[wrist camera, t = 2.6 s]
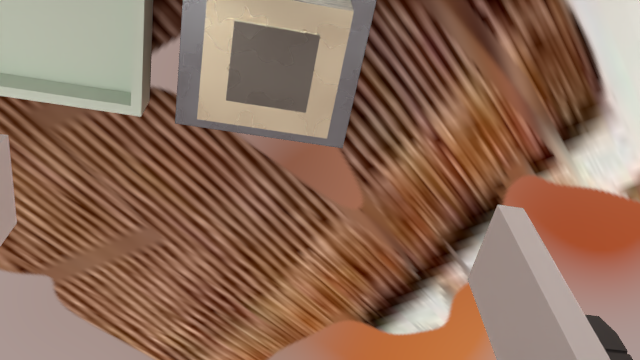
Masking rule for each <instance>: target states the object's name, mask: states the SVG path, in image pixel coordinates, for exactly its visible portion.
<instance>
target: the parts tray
mask: <svg viewBox="0 0 640 360" xmlns="http://www.w3.org/2000/svg"><path fill="white" fill-rule="evenodd" d="M152 23H153V0H0V96H5V97H12V98H19V99H26V100H32V101H39V102H46V103H52V104H59V105H66V106H73V107H79V108H86V109H93V110H100V111H106V112H113V113H120V114H126V115H133V116H140V117H141V116H142V114H143V112H144V110H145V108H146V107H147V105H148V103H149V101H150V77H151V76H150V75H151V50H152Z"/></svg>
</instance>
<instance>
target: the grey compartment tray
mask: <svg viewBox="0 0 640 360" xmlns="http://www.w3.org/2000/svg"><path fill="white" fill-rule="evenodd" d="M351 3H352V6H353V10H354V13H353V18H352V23H351V28H350V32H349V37H348V42H347V46H346V51H345V56H344V61H343V65H342V70H341V75H340V79H339V84H338V89H337V94H336V98H335V103H334V108H333V112H332V117H331V122H330V126H329V131H328V136H327V139H326V138H319V137H312V136H306V135H299V134H292V133H286V132H279V131H272V130H266V129H259V128H252V127H246V126H239V125H232V124H226V123H219V122H212V121H206V120H199V119H197V113H198V101H199V89H200V77H201V65H202V52H203V40H204V28H205V16H206V4H207V0H183V6H182V22H181V38H180V54H179V70H178V71H179V72H178V86H177V102H176V118H175V123H176V124H183V125H190V126H197V127H203V128H210V129H217V130H223V131H230V132H237V133H244V134H250V135H258V136H264V137H271V138H277V139H284V140H291V141H298V142H304V143H312V144H319V145H325V146H331V147H338V148H343V144H344V139H345V135H346V131H347V126H348V122H349V118H350V113H351V109H352V105H353V100H354V96H355V92H356V87H357V83H358V79H359V74H360V70H361V65H362V61H363V57H364V52H365V48H366V44H367V39H368V35H369V31H370V26H371V22H372V18H373V13H374V9H375V4H376V0H351Z"/></svg>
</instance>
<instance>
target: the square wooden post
mask: <svg viewBox="0 0 640 360" xmlns="http://www.w3.org/2000/svg"><path fill="white" fill-rule="evenodd" d="M353 13H354V10H353V6H352V3H351V0H207V4H206V16H205V28H204V40H203V52H202V65H201V77H200V89H199V101H198V113H197V119H199V120H206V121H212V122H219V123H226V124H232V125H239V126H246V127H252V128H259V129H266V130H272V131H279V132H286V133H292V134H299V135H306V136H312V137H319V138H326V139H327V136H328V131H329V126H330V122H331V117H332V112H333V108H334V103H335V98H336V94H337V89H338V84H339V79H340V75H341V70H342V65H343V61H344V56H345V51H346V46H347V42H348V37H349V32H350V28H351V23H352V18H353Z"/></svg>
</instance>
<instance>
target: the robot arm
mask: <svg viewBox="0 0 640 360" xmlns="http://www.w3.org/2000/svg"><path fill="white" fill-rule="evenodd" d="M16 223H17V219H16V209H15V199H14V189H13V179H12V169H11V159H10V149H9V139H8V135H3V134H0V246H1V244H2V243H3V242H4V240H5V239H6V237H7V236H8V234H9V233H10V232H11V230H12V229H13V227H14V226H15V225H16ZM468 282H469V285H470V287H471V290H472V293H473V296H474V298H475V301H476V304H477V307H478V309H479V312H480V315H481V318H482V320H483V323H484V326H485V328H486V331H487V334H488V337H489V340H490V342H491V345H492V348H493V351H494V353H495V356H496V359H497V360H633V359H632V357H631V356H630V355H629V354H627V349H626V348H625V346H624V345H623V343H622V341H621V340H620V338H619V336H618V335H617V333H616V332H615V331H614V330H612V329H611V327H609V326H608V325H607V324H606V323H605V322H604V321H603V320H602V319H601V318H600V317H599V316H591V315H585V314H584V313H583V311H582V310H581V308H580V306H579V304H578V302H577V301H576V299H575V297H574V295H573V294H572V292H571V290H570V288H569V287H568V285H567V283H566V282H565V280H564V278H563V276H562V274H561V273H560V271H559V269H558V268H557V266H556V264H555V262H554V261H553V259H552V257H551V255H550V254H549V252H548V250H547V248H546V247H545V245H544V243H543V242H542V240H541V238H540V236H539V235H538V233H537V231H536V229H535V228H534V226H533V224H532V222H531V221H530V219H529V217H528V215H527V214H526V212H525V211H524V209H523V208H517V207H510V206H504V205H497V208H496V210H495V213H494V215H493V217H492V220H491V222H490V225H489V227H488V230H487V232H486V235H485V237H484V240H483V242H482V245H481V247H480V250H479V252H478V255H477V257H476V260H475V262H474V265H473V267H472V270H471V272H470V275H469V277H468Z"/></svg>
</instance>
